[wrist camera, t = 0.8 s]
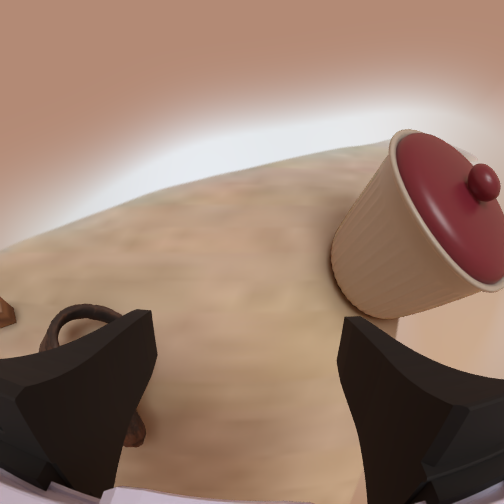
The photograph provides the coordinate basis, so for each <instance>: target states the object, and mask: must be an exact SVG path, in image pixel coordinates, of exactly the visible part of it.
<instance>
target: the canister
mask: <svg viewBox="0 0 504 504" xmlns="http://www.w3.org/2000/svg"><path fill="white" fill-rule="evenodd" d="M499 192H500V181H499V179H498V176H497V175H496V173H495V172H494V171H493V169H492V168H490V167H489V166H488V165H486V164H476V165H474V166H473V165H472V164H471V163H470V162H469V161H468V160H467V159H466V158H465V157H464V156H463V155H462V154H461V153H460V152H459V151H457V150H456V149H455V148H454V147H452V146H451V145H449V144H448V143H446V142H445V141H443V140H441V139H439V138H437V137H435V136H433V135H429V134H425V133H423V132H420V131H417V130H411V129H406V130H401V131H399V132H397V133H396V134H395V135H394V136H393V137H392V139H391V141H390V145H389V154H388V156H387V157H386V159H385V160H384V161H383V163H382V164H381V166H380V167H379V169H378V170H377V172H376V173H375V175H374V176H373V178H372V179H371V180H370V182H369V183H368V185H367V186H366V188H365V189H364V190H363V192H362V193H361V195H360V196H359V198H358V199H357V201H356V202H355V204H354V205H353V207H352V208H351V210H350V211H349V213H348V214H347V216H346V217H345V219H344V220H343V222H342V223H341V225H340V227H339V228H338V230H337V232H336V234H335V237H334V240H333V243H332V250H331V256H332V257H331V263H332V270H333V271H334V277H335V278H336V280H337V283H338V286H340V288H341V290H342V293H344V294H345V296H346V298H347V299H348V300H350V301H351V303H352V305H354V306H356V307H357V308H358V309H359V310H360V311H363V312H364V313H365V314H368V315H371V316H373V317H377V318H381V319H395V318H400V317H404V316H408V315H411V314H415V313H419V312H422V311H426V310H429V309H432V308H435V307H439V306H442V305H444V304H447V303H450V302H453V301H456V300H459V299H461V298H464V297H467V296H470V295H473V294H475V293H478V292H480V291H483V292H497V291H499V290H501V289H502V288H504V214H503V212H502V210H501V208H500V205H499V204H498V201H497V199H496V198H497V197H498V195H499Z"/></svg>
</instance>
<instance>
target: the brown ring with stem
mask: <svg viewBox="0 0 504 504" xmlns="http://www.w3.org/2000/svg"><path fill="white" fill-rule="evenodd" d="M121 316H122V315H121V314H119V313H117V312H115V311H114V310H112V309H109V308H107V307H104V306H99V305H92V304H79V305H73V306H70V307H67V308H65V309H64V310H62V311H60V312H59V314H57V315H56V317H55V318H54V319H53V320H52V321H51V324H50V326H49V328H48V330H47V333H46V335H45V337H44V339H43V341H42V342H41V344H40V348H39V352H43V351H46V350H50V349H54V348H57V347H59V342H58V334H59V331H60V329H61V328H62V326H63V325H64V324H66V323H67V322H69V321H71V320H75V319H83V318H89V319H93V320H99V321H103V322H106V323H108V324H109V323H111V322H112V321H114V320H116V319H118V318H120V317H121ZM145 436H146V430H145V427H144V424H143V422H142V420H141V418H140V416H139V414H138V412H137V411H136V410H135V412H134V414H133V417H132V419H131V421H130V424H129V427H128V430H127V433H126V437H125V440H124V443H123V446H125V447H139V446H140V445H142V444H143V442H144V439H145Z"/></svg>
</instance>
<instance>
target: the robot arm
mask: <svg viewBox="0 0 504 504" xmlns="http://www.w3.org/2000/svg"><path fill="white" fill-rule="evenodd" d="M157 355H158V354H157V348H156V342H155V335H154V328H153V321H152V313H151V310H139V309H136V310H134V311H131V312H129V313H127V314H125V315H123V316H121V317H120V318H118V319H116V320H114V321H112V322H111V323H109V324H107V325H105V326H103V327H101V328H100V329H98V330H96V331H94V332H92V333H90V334H88V335H85V336H83V337H81V338H79V339H77V340H75V341H72V342H70V343H67V344H65V345H62V346H59V347H57V348H54V349H50V350H46V351H43V352H39V353H35V354H31V355H26V356H21V357H14V358H7V359H0V504H314V503H311V502H293V501H241V500H224V499H212V498H202V497H194V496H186V495H179V494H173V493H167V492H161V491H156V490H150V489H146V488H136V487H127V486H119V487H115V488H114V483H115V477H116V472H117V467H118V463H119V459H120V455H121V451H122V447H123V443H124V440H125V437H126V433H127V430H128V427H129V424H130V421H131V419H132V417H133V414H134V412H135V410H136V408H137V406H138V404H139V401H140V399H141V397H142V395H143V393H144V391H145V389H146V386H147V384H148V382H149V380H150V378H151V375H152V372H153V369H154V366H155V362H156V359H157ZM337 366H338V372H339V377H340V382H341V385H342V388H343V391H344V394H345V397H346V400H347V403H348V405H349V408H350V411H351V414H352V417H353V420H354V423H355V426H356V429H357V433H358V437H359V442H360V447H361V453H362V459H363V465H364V472H365V480H366V489H367V502H368V504H504V380H503V379H495V378H488V377H483V376H479V375H474V374H470V373H467V372H463V371H460V370H456V369H454V368H451V367H448V366H445V365H443V364H440V363H438V362H436V361H433V360H431V359H429V358H427V357H425V356H423V355H421V354H419V353H417V352H415V351H413V350H412V349H410V348H408V347H407V346H405V345H403V344H402V343H400V342H398V341H397V340H395V339H394V338H392V337H391V336H389V335H388V334H386V333H385V332H383V331H382V330H381V329H379V328H378V327H376V326H375V325H373V324H372V323H370V322H369V321H367V320H366V319H364V318H362V317H360V316H355V317H345V318H344V324H343V330H342V335H341V341H340V346H339V351H338V356H337Z"/></svg>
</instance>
